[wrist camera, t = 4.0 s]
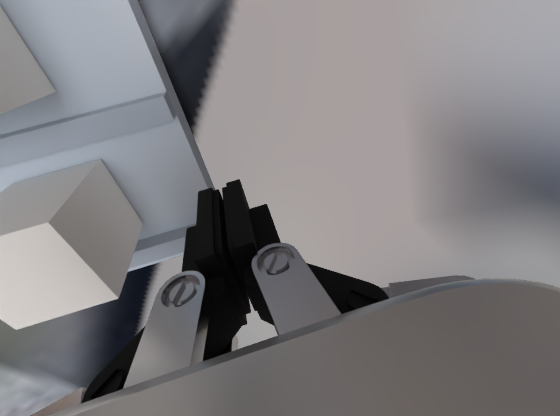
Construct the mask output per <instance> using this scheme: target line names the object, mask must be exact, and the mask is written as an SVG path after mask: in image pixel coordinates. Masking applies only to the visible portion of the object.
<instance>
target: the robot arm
mask: <svg viewBox="0 0 560 416" xmlns="http://www.w3.org/2000/svg"><path fill="white" fill-rule="evenodd" d="M226 185H227V187H224V188H222V192H223V199H222V196H221V194H220V192H219V190H213V188H212V187H211V188H208V189H205V190H201V191H198V201H197V219H196V225H195V226H192V227H189V228H187V230H186V238H185V247H184V257H183V266H182V273H179V274H177V275H175V276H173V277H171V278H170V279H169V280H168V281H166V282H165V283H164V285H163V286H162V287H161V288H160V290H159V292H158V294H157V296H156V298H155V301H154V304H153V307H152V310H151V312H150V315H149V318H148V321H147V323H146V326H145V327H144V328H143V329H142V330H141V331H140V332H139V333H138V334H137V335H136V336H135V337H134V338H133V339H132V340H131V341H130V342H129V343H128V344H127V345H126V346H125V347H124V348H123V349H122V350H121V352H120V353H119V354H118V355H117V356H116V357H115V358H114V359H113V360H112V361H111V362H110V363H109V364H108V365H107V366H106V367H105V368H104V369H103V370H102V371H101V372H100V373H99V374H98V375H97V376H96V378H95V379H94V380H93V381H92V383H91V384H90V385H89V387H88V389H87V390H86V389H85V388H83V387H82V388H80V389H78V390H76V391H74V392H73V393H71V394H69V395H67V396H65V397H64V398H62V399H60V400H58V401H56V402H54V403H53V404H51V405H49V406H47V407H45V408H44V409H42V410H40V411H38V412H36V413H35V414H33V415H31V416H560V288H558V287H555V286H551V285H548V284H544V283H539V282H533V281H527V280H516V279H474V278H470V277H466V276H448V277H439V278H430V279H421V280H413V281H404V282H396V283H389V287H385V288H380V287H378V286H376V285H374V284H371V283H369V282H366V281H363V280H360V279H356V278H353V277H350V276H347V275H343V274H340V273H337V272H334V271H330V270H327V269H324V268H321V267H318V266H314V265H311V264H308V263H306V262H305V261H304V259H303V258H302V257H301V255H300V254H299V252H298V251H297V249H296V248H295V247H293V246H292V245H289V244H286V243H281V242H280V239H279V237H278V234H277V231H276V228H275V226H274V223H273V220H272V217H271V214H270V211H269V209H268V206H267V204H264V205H261V206H258V207H255V208H251V209H249V206H248V203H247V200H246V197H245V194H244V191H243V188H242V185H241V182H240V180H235V181H232V182H228V183H226ZM248 296H249V297H248ZM249 299H250V301H251V303H252V306H253V308H254V310H255V311H258V314H259V316H260V318H261V319H262V320H264V321H266V322H268V323H270V324H272V325H274V326H275V329H276V331H277V334H278V336H276V337H273V338H270V339H267V340H264V341H261V342H258V343H255V344H252V345H250V346H246V347H243V348H240V349H238V340H237V336H236V333H237V332H238V331H239V329H240V328H241V326H243V325H246V324H247V319H246V314H248V313H250V312H251V309H250V303H249Z"/></svg>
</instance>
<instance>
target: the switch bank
mask: <svg viewBox="0 0 560 416" xmlns="http://www.w3.org/2000/svg"><path fill="white" fill-rule="evenodd" d="M0 6H1V8H2V9H3V11H4V12H5V14H6V15H7V17H8V18H9V20H10V21H11V23H12V25H13V26H14V28H15V29H16V31H17V32H18V34H19V35H20V37H21V38H22V40H23V41H24V43H25V44H26V46H27V47H28V49H29V50H30V52H31V54H32V55H33V57H34V58H35V60H36V61H37V63H38V64H39V66H40V67H41V69H42V70H43V72H44V73H45V75H46V76H47V78H48V79H49V81H50V82H51V84H52V86H53V87H54V89H55V90H56V92H54V93H52V94H49V95H47V96H44V97H42V98H39V99H37V100H35V101H32V102H30V103H27V104H25V105H22V106H20V107H17V108H15V109H13V110H10V111H8V112H5V113H3V114H0V193H1V192H2V191H3V190H5V189H6V188H7V187H8V186H10V185H11V184H12V183H15V182H19V181H22V180H26V179H30V178H33V177H37V176H41V175H44V174H48V173H52V172H55V171H59V170H63V169H66V168H70V167H74V166H77V165H81V164H84V163H88V162H92V161H95V160H99V159H101V160H102V162H103V163H104V165H105V166H106V168H107V169H108V171H109V172H110V174H111V175H112V177H113V179H114V180H115V182H116V183H117V185H118V186H119V188H120V189H121V191H122V192H123V194H124V195H125V197H126V198H127V200H128V201H129V203H130V204H131V206H132V207H133V209H134V211H135V212H136V214H137V215H138V217H139V218H140V220H141V221H142V223H143V227H142V230H141V233H140V236H139V239H138V242H137V245H136V248H135V251H134V254H133V257H132V260H131V263H130V266H129V269H128V272H129V271H132V270H135V269H138V268H142V267H145V266H148V265H152V264H155V263H158V262H162V261H165V260H168V259H171V258H174V257H178V256H181V255H184V247H185V238H186V230H187V228H189V227H192V226H195V225H196V219H197V201H198V191H201V190H205V189H208V188H211V187H212V188H213V190H215V188H214V186H213V184H212V181H211V179H210V176H209V174H208V171H207V169H206V166H205V164H204V162H203V159H202V157H201V154H200V152H199V149H198V147H197V144H196V142H195V139H194V137H193V134H192V132H191V130H190V127H189V125H188V122H187V120H186V117H185V115H184V112H183V110H182V107H181V105H180V103H179V100H178V98H177V95H176V93H175V90H174V88H173V85H172V83H171V81H170V78H169V76H168V73H167V71H166V68H165V66H164V63H163V61H162V58H161V56H160V54H159V51H158V49H157V46H156V44H155V41H154V39H153V36H152V34H151V31H150V29H149V27H148V24H147V22H146V19H145V17H144V14H143V12H142V9H141V7H140V5H139V2H138V0H0Z"/></svg>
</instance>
